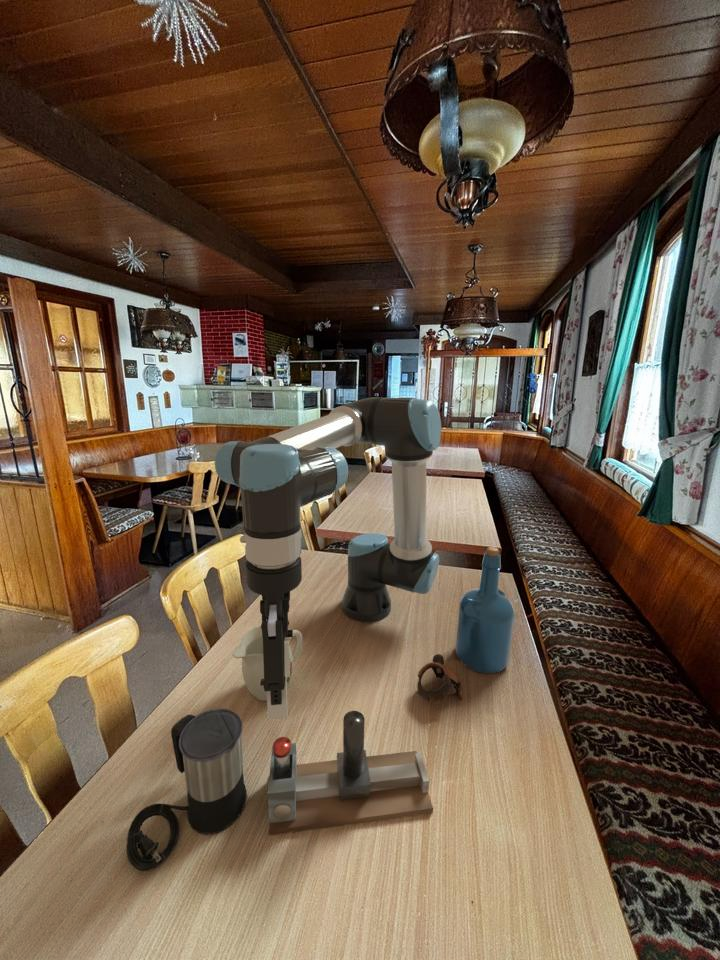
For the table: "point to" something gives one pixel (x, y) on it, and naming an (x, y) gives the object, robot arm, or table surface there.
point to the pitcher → (260, 660)
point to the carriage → (353, 759)
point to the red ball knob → (282, 755)
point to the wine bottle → (486, 621)
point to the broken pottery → (439, 672)
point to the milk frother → (198, 783)
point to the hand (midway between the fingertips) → (279, 694)
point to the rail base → (315, 799)
